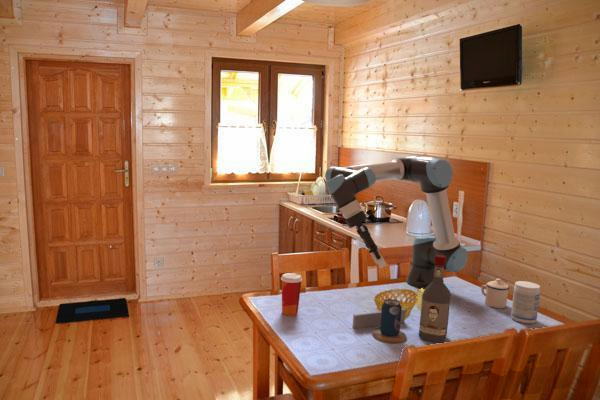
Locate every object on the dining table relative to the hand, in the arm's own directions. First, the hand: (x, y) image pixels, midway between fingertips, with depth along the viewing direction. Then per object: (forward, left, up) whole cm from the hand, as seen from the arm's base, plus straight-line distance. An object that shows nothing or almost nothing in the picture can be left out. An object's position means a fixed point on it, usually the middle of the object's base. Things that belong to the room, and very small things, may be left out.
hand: (381, 264), depth 194 cm
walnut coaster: (+11, -2, -23) cm, 25 cm away
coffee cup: (-19, -28, -23) cm, 41 cm away
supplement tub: (+13, +60, -23) cm, 66 cm away
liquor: (+16, +13, -23) cm, 31 cm away
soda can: (+11, -1, -23) cm, 25 cm away
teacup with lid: (-5, +61, -23) cm, 66 cm away
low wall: (+1, 0, -23) cm, 23 cm away
